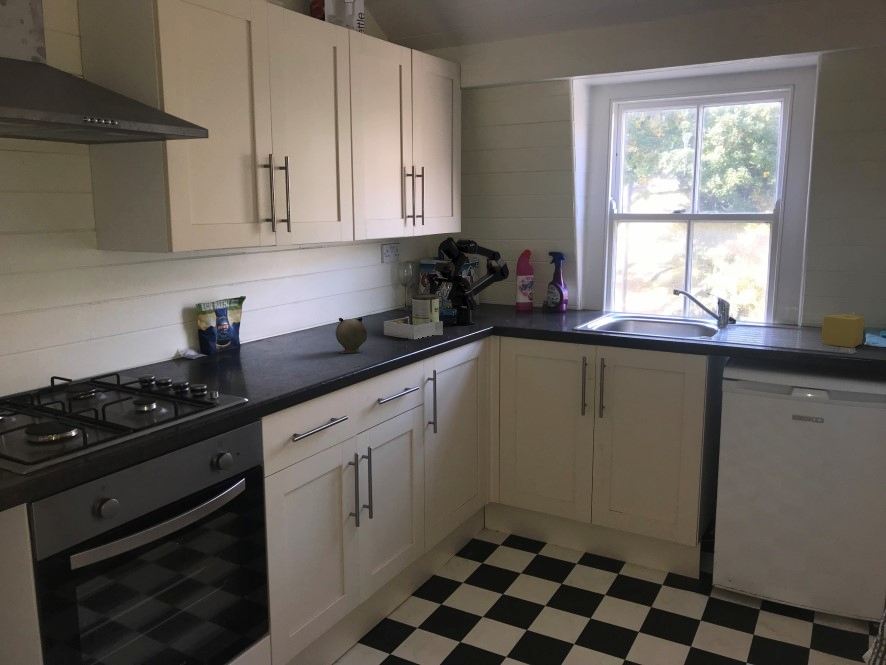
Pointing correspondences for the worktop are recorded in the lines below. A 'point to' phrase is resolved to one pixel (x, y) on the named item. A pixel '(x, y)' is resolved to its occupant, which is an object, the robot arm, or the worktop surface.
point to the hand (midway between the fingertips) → (438, 298)
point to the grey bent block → (412, 328)
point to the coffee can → (425, 308)
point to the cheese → (842, 330)
